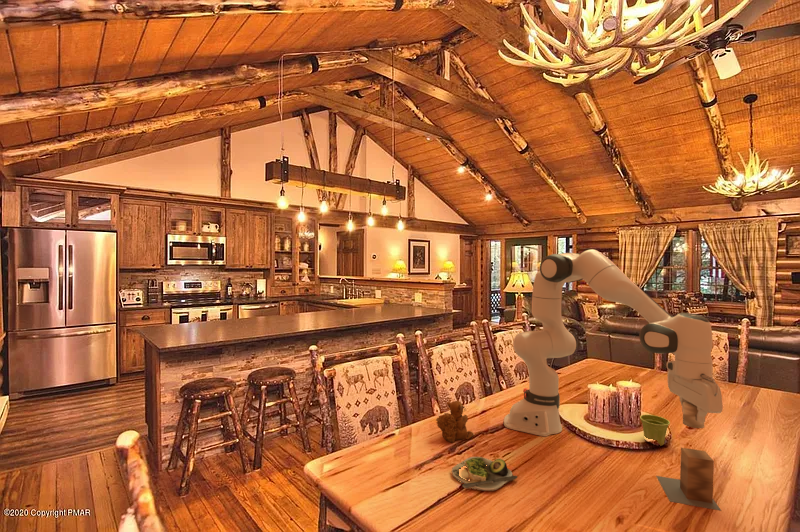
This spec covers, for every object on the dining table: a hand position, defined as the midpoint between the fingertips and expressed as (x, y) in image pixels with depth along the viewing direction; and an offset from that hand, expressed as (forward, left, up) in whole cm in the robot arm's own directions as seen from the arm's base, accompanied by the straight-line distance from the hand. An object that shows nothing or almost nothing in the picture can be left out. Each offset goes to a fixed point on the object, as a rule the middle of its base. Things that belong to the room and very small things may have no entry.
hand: (693, 417), depth 116 cm
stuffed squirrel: (-72, +12, -23) cm, 77 cm away
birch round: (0, 0, -2) cm, 2 cm away
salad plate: (-58, -11, -23) cm, 64 cm away
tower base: (+1, -1, -22) cm, 22 cm away
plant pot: (-1, +34, -23) cm, 41 cm away
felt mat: (-1, 0, -22) cm, 22 cm away
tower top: (+1, -1, -16) cm, 16 cm away
